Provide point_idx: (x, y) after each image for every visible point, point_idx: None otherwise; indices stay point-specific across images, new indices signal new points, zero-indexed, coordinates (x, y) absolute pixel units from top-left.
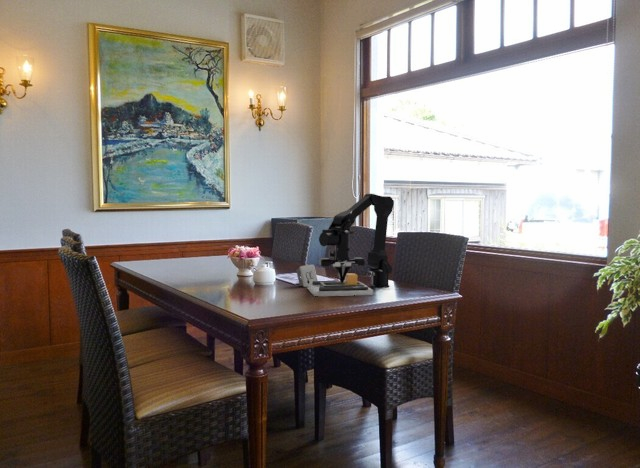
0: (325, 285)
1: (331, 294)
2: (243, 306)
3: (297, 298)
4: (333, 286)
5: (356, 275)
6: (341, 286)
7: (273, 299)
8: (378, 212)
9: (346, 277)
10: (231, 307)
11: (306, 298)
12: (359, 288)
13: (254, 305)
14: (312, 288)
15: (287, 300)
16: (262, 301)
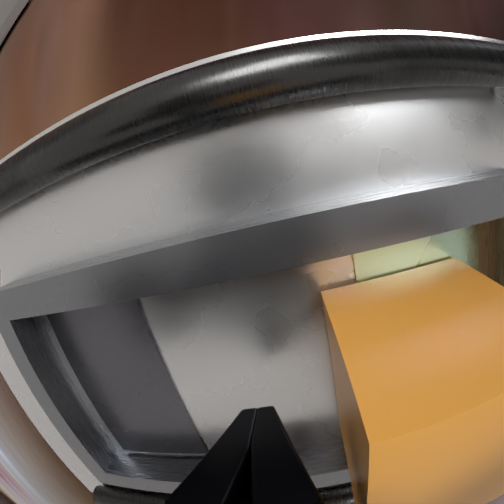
0: (106, 478)
1: None
2: (13, 493)
3: (55, 475)
4: (177, 486)
5: (491, 496)
6: None
7: (5, 458)
8: None
9: (356, 458)
10: (3, 490)
11: (86, 487)
12: None
13: (22, 496)
14: (28, 412)
15: (47, 486)
16: (3, 469)
